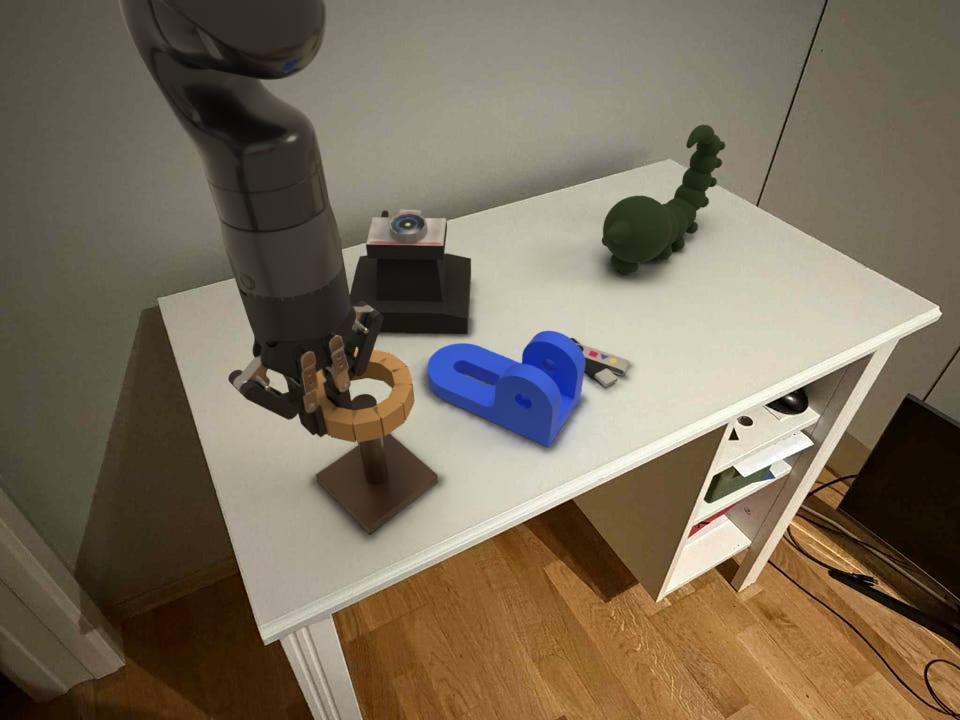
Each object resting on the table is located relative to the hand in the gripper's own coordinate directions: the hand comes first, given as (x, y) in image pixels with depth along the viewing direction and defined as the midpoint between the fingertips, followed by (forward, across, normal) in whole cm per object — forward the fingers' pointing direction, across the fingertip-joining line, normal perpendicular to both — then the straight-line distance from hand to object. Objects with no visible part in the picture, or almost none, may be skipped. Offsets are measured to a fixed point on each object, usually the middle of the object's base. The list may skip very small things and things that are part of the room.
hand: (328, 422), depth 56 cm
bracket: (+13, -22, 0) cm, 25 cm away
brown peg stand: (+13, -4, 0) cm, 13 cm away
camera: (+13, -27, -21) cm, 36 cm away
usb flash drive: (+13, -35, +5) cm, 37 cm away
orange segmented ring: (0, -4, 0) cm, 4 cm away
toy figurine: (+13, -60, -4) cm, 61 cm away
